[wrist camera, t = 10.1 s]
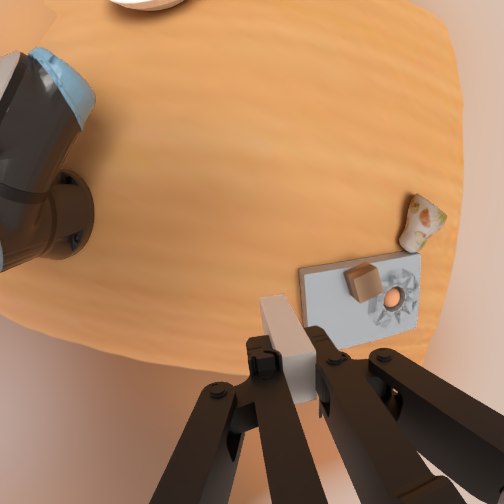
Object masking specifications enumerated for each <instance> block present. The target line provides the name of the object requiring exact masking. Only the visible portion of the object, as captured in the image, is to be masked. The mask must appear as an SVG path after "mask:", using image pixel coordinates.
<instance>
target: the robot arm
mask: <svg viewBox="0 0 504 504" xmlns="http://www.w3.org/2000/svg"><path fill="white" fill-rule="evenodd" d="M95 102H96V96H95V93H94V90H93V89H92V87H91V86H90V85H89V83H88V82H87V81H86V80H85V79H84V78H83V77H82V76H81V75H80V74H79V73H78V72H76V71H75V70H74V69H73V68H72V67H71V66H69V65H68V64H67V63H66V62H64V61H63V60H62V59H58V57H57V56H55V55H54V54H53V53H52V52H50V51H48V50H46V49H44V48H42V47H36V48H34V49H33V50H32V51H30V52H29V53H28V56H27V55H25V54H23V53H21V52H20V51H14V52H12V53H10V54H7V55H5V56H3V57H0V273H1V272H3V271H6V270H8V269H10V268H13V267H15V266H17V265H20V264H22V263H24V262H27V261H29V260H32V259H34V258H36V257H42V258H47V259H53V260H60V259H64V258H67V257H70V256H72V255H74V254H76V253H77V252H79V251H80V250H81V249H82V248H83V247H84V245H85V244H86V242H87V241H88V239H89V237H90V234H91V231H92V227H93V222H94V204H93V199H92V196H91V193H90V190H89V188H88V186H87V185H86V183H85V182H84V180H83V179H82V178H81V177H80V176H79V175H77V174H76V173H74V172H72V171H68V170H61V169H60V168H61V166H62V164H63V162H64V160H65V158H66V156H67V154H68V152H69V150H70V149H71V147H72V145H73V143H74V141H75V139H76V138H77V136H78V134H79V132H82V130H83V128H84V124H85V122H86V120H87V118H88V117H89V115H90V113H91V111H92V110H93V108H94V106H95ZM259 300H260V308H261V316H262V324H263V332H264V336H257V337H251V338H249V339H248V341H247V342H246V348H247V355H248V364H249V370H250V376H249V378H248V379H247V380H246V381H245V382H243V383H242V384H239V385H237V386H234V387H233V385H231V384H229V383H227V382H215V383H212V384H209V385H207V386H206V387H205V388H204V389H203V390H202V392H201V394H200V396H199V398H198V400H197V402H196V405H195V407H194V409H193V411H192V413H191V416H190V418H189V420H188V422H187V424H186V426H185V429H184V431H183V433H182V435H181V437H180V439H179V441H178V444H177V446H176V448H175V450H174V452H173V454H172V456H171V458H170V460H169V463H168V465H167V467H166V469H165V471H164V473H163V475H162V477H161V480H160V482H159V484H158V486H157V488H156V490H155V492H154V494H153V497H152V499H151V500H150V503H149V504H228V500H229V496H230V493H231V489H232V485H233V480H234V477H235V473H236V469H237V465H238V460H239V457H240V453H241V448H242V444H243V440H244V436H245V432H246V431H248V430H251V429H253V428H256V427H258V426H259V432H260V438H261V444H262V449H263V456H264V461H265V467H266V473H267V478H268V484H269V490H270V495H271V500H272V504H328V502H327V499H326V496H325V493H324V490H323V488H322V485H321V482H320V479H319V476H318V473H317V470H316V467H315V464H314V461H313V458H312V455H311V452H310V449H309V447H308V444H307V440H306V438H305V435H304V432H303V429H302V426H301V423H300V420H299V417H298V414H297V411H296V408H295V405H294V404H298V403H302V402H307V401H312V400H316V391H317V393H318V396H319V418H321V417H322V414H323V416H324V418H325V421H326V423H327V425H328V427H329V430H330V432H331V434H332V437H333V439H334V441H335V444H336V446H337V448H338V451H339V453H340V455H341V458H342V460H343V462H344V465H345V467H346V469H347V471H348V474H349V476H350V479H351V481H352V483H353V486H354V488H355V490H356V492H357V495H358V497H359V499H360V502H361V504H467V503H466V502H465V501H464V499H463V498H462V496H461V495H460V493H459V492H458V490H457V489H456V488H455V486H454V485H453V483H452V482H451V481H450V480H449V479H448V478H447V477H445V476H435V475H433V474H432V473H431V472H430V470H429V469H428V467H427V466H426V464H425V463H424V461H423V460H422V458H421V457H420V455H419V454H418V453H417V451H418V452H419V453H420V454H421V455H422V456H424V457H425V458H426V459H427V460H429V461H430V462H431V463H432V464H433V465H435V466H436V467H437V468H438V469H439V470H441V471H442V472H443V473H444V474H446V475H447V476H448V477H449V478H451V479H452V480H453V481H455V482H456V483H457V484H458V485H460V486H461V487H462V488H464V489H465V490H466V491H468V492H469V493H470V494H471V495H473V496H475V497H476V498H477V499H479V500H481V501H483V502H485V503H487V504H504V416H503V415H501V414H500V413H498V412H496V411H495V410H493V409H491V408H489V407H488V406H486V405H484V404H483V403H481V402H479V401H478V400H476V399H474V398H473V397H471V396H469V395H468V394H466V393H464V392H463V391H461V390H459V389H458V388H456V387H454V386H453V385H451V384H449V383H448V382H446V381H444V380H443V379H441V378H439V377H438V376H436V375H434V374H433V373H431V372H429V371H428V370H426V369H424V368H423V367H421V366H420V365H418V364H416V363H415V362H413V361H411V360H410V359H408V358H406V357H405V356H403V355H402V354H400V353H398V352H397V351H395V350H393V349H390V348H379V349H376V350H374V351H372V352H371V353H370V355H369V359H361V360H354V359H351V357H350V356H349V355H348V354H347V353H344V352H340V351H338V349H337V348H336V346H335V345H334V343H333V342H332V340H331V339H330V338H329V336H328V335H327V333H326V332H325V330H324V329H323V328H321V327H319V326H317V325H315V326H310V327H305V328H303V327H302V325H301V323H300V321H299V320H298V318H297V316H296V314H295V312H294V311H293V309H292V307H291V305H290V304H289V302H288V300H287V298H286V297H285V295H284V294H278V295H272V296H266V297H259ZM393 388H394V389H395V390H396V391H398V393H396V392H394V391H393Z"/></svg>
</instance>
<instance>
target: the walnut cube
mask: <svg viewBox="0 0 504 504" xmlns="http://www.w3.org/2000/svg"><path fill="white" fill-rule="evenodd" d="M343 274H344V277H345V280H346V283H347V287H348V290H349V293H350V295H351V296H352V297H353V298H354V299H355V300H356V301H358V302H359V303H360V304H361V303H363V302H365V301H367V300H369V299H371V298H373V297H375V296H377V295H379V294H381V293H383V288H382V284H381V280H380V276H379V272H378V268H377V267H375V266H373V265H371V264H369V263H368V262H366V261H365V262H363V263H361V264H359V265H357V266H355V267H353V268H351V269H348V270H346V271H344V272H343Z"/></svg>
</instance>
